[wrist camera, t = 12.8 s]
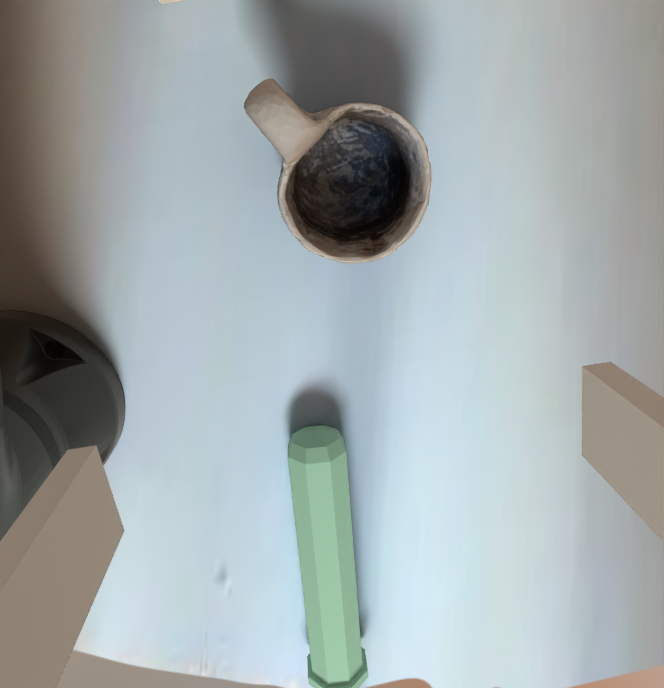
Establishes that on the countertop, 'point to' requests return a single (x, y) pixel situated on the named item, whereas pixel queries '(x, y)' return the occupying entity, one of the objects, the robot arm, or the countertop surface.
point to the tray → (169, 1)
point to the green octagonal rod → (326, 557)
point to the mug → (345, 174)
